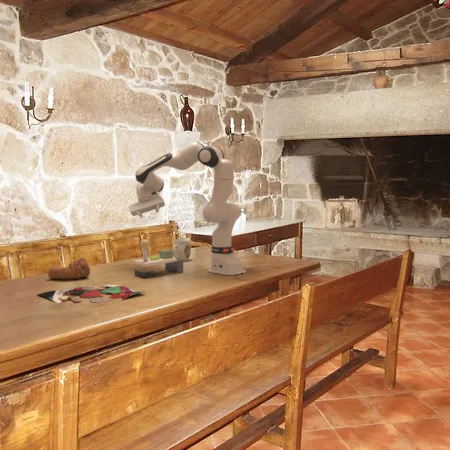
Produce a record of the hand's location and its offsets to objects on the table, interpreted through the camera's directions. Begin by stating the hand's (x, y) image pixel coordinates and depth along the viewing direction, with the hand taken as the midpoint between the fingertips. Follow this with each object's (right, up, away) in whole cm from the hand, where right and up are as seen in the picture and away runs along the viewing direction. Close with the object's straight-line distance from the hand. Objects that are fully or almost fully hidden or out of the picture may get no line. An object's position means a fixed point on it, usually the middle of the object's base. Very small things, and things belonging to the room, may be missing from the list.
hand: (149, 214), depth 264 cm
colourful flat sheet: (-18, -39, -51) cm, 66 cm away
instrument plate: (+4, -27, -6) cm, 28 cm away
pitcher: (+15, -29, +36) cm, 49 cm away
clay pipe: (-38, -35, -17) cm, 55 cm away
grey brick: (+6, -33, -4) cm, 34 cm away
